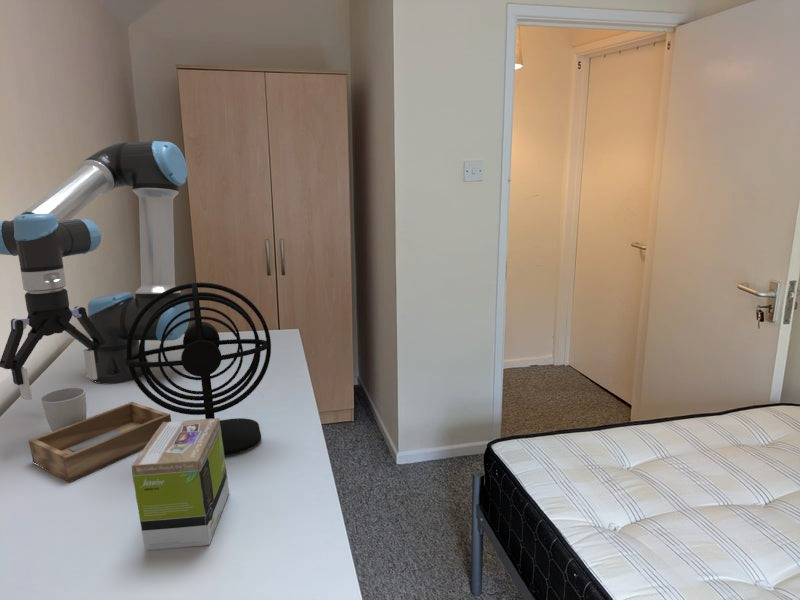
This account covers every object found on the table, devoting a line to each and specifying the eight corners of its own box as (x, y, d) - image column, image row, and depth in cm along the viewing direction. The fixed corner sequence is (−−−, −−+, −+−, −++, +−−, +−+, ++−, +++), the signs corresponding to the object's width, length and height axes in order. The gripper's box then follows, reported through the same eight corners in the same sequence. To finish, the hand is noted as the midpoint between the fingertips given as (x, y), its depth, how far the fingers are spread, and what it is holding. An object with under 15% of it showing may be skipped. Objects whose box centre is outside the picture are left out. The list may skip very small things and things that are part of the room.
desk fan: (136, 478, 108) (110, 296, 100) (144, 438, 124) (123, 278, 116) (282, 452, 116) (268, 282, 108) (272, 418, 132) (259, 268, 124)
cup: (99, 429, 129) (93, 387, 126) (76, 447, 121) (68, 402, 118) (65, 429, 129) (58, 387, 127) (40, 446, 122) (32, 402, 119)
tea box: (172, 497, 101) (162, 419, 98) (230, 493, 102) (222, 415, 98) (142, 552, 86) (129, 463, 83) (210, 547, 87) (200, 458, 84)
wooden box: (33, 463, 114) (28, 440, 113) (135, 422, 132) (132, 401, 131) (70, 482, 107) (66, 458, 106) (173, 435, 125) (170, 414, 123)
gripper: (-16, 303, 105) (4, 411, 110) (114, 281, 126) (126, 373, 130) (-33, 299, 109) (-14, 404, 114) (95, 279, 130) (107, 368, 134)
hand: (61, 388), depth 122 cm, fingers open, 13 cm apart
